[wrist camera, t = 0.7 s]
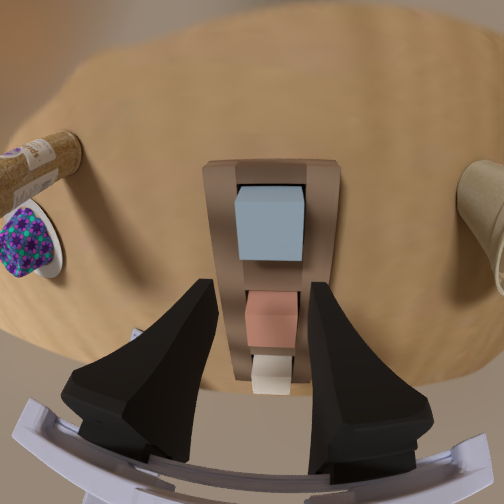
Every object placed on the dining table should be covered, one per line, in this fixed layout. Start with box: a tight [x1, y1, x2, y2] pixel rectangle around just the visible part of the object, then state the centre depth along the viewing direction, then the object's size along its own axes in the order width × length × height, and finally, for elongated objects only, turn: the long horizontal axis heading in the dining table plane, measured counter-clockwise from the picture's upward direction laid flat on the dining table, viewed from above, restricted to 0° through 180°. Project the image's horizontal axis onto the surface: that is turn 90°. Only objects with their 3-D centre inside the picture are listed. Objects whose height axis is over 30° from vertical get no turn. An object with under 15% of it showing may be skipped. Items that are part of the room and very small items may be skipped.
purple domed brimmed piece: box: [0, 199, 62, 278], centre depth 23 cm, size 12×12×5 cm
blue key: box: [235, 186, 304, 261], centre depth 18 cm, size 4×4×3 cm
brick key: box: [245, 290, 298, 348], centre depth 22 cm, size 4×4×3 cm
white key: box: [251, 355, 292, 395], centre depth 27 cm, size 4×4×3 cm
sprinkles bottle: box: [0, 130, 82, 218], centre depth 14 cm, size 5×5×13 cm
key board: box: [202, 159, 341, 383], centre depth 24 cm, size 25×9×2 cm, turn 3°
